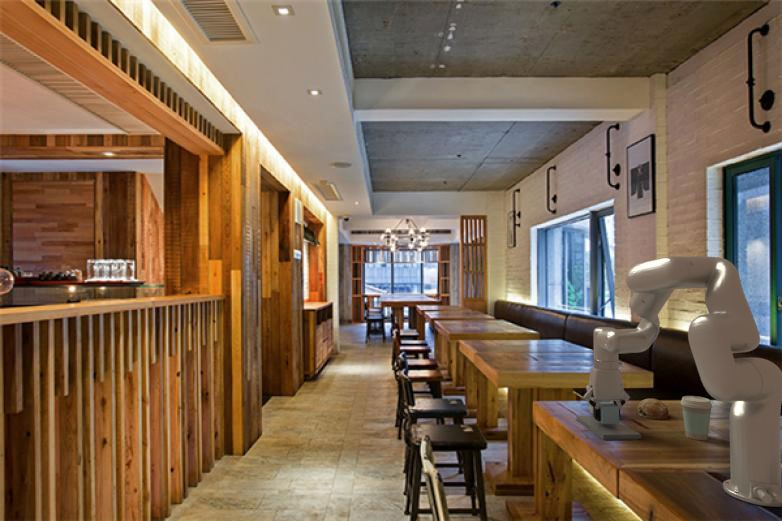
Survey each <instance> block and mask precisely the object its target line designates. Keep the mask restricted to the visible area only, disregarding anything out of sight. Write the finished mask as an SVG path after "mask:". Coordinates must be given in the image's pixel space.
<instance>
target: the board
mask: <svg viewBox="0 0 782 521" xmlns="http://www.w3.org/2000/svg"><path fill="white" fill-rule="evenodd" d="M576 421H577V423H579V424H580V425H581V426H583V427H585V428H586V429H588V430H589V431H590V432H591V433H593V434H594V435H596V436H598V437H599V438H600V439H601V440H603V441H608V440H609V441H613V440H615V441H616V440H617V441H618V440H642V434H641V433H640V432H638V431H636V430H634V429H633V428H632V427H629V426H628V425H626V424H624V423H623V422H621V421H619V424H602V423H600V422H599V421H597V420H595V418H594V416H593V415H581V416H579V415H578V416H577V415H576Z"/></svg>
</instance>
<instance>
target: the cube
mask: <svg viewBox="0 0 782 521" xmlns="http://www.w3.org/2000/svg"><path fill="white" fill-rule="evenodd" d="M599 409H600V410H601V421H599V422H600V423H602V424H619V406H617V405H615V404H613V403H611V402H601V403H600V406H599Z"/></svg>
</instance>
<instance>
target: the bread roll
mask: <svg viewBox="0 0 782 521" xmlns="http://www.w3.org/2000/svg"><path fill="white" fill-rule="evenodd" d="M637 414H638V416H640V417H643V418H647V419H651V420H666V419H667V418H668V417H669V414H670V412H669V408H668V407H667V406H666V404H665V403H664V402H663V401H661V400H659V399H657V398H645V399H643V400H641V401H640V402H639V403H638V404H637ZM665 418H666V419H665Z"/></svg>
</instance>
